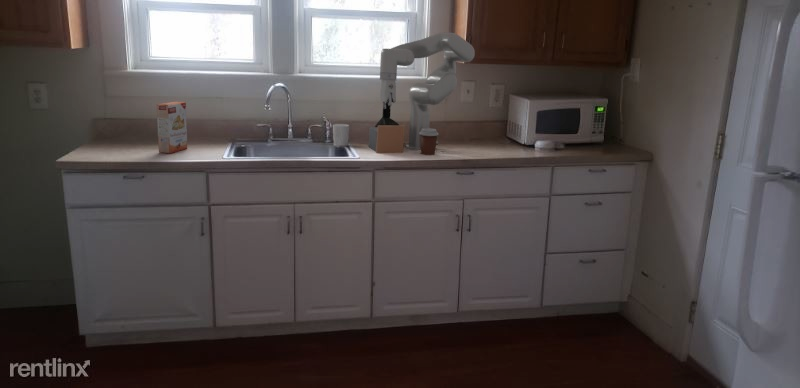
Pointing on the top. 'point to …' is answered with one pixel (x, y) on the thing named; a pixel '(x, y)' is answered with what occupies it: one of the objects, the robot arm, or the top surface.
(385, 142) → the side door
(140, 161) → the top surface
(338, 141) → the white cup
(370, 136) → the case
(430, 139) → the coffee cup
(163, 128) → the cracker box
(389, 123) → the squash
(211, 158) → the top surface
